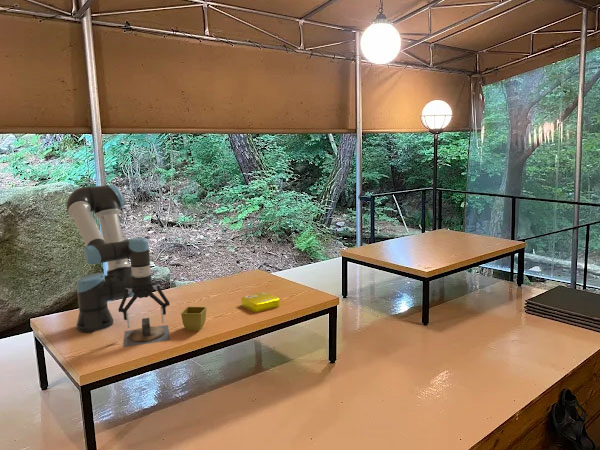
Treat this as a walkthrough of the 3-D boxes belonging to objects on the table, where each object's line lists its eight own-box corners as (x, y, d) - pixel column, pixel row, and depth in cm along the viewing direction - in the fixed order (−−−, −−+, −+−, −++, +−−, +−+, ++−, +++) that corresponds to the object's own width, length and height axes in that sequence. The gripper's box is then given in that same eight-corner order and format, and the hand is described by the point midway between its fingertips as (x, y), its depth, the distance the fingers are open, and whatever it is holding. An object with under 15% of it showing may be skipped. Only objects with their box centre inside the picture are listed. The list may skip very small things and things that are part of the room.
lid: (128, 344, 191) (127, 329, 190) (129, 331, 204) (128, 318, 203) (164, 339, 195) (163, 324, 194) (163, 327, 208) (162, 313, 207)
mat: (123, 348, 188) (123, 347, 188) (125, 332, 205) (125, 331, 205) (170, 341, 194) (170, 340, 194) (168, 326, 211) (168, 325, 211)
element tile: (254, 313, 224) (254, 304, 224) (239, 305, 236) (239, 296, 236) (281, 306, 233) (281, 297, 232) (265, 299, 245) (265, 290, 244)
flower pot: (208, 326, 210) (206, 306, 208) (202, 333, 201) (200, 313, 199) (188, 326, 210) (187, 306, 209) (182, 333, 202) (180, 313, 200)
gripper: (108, 281, 188) (113, 332, 191) (173, 274, 196) (177, 323, 199) (109, 276, 195) (114, 325, 198) (172, 269, 203) (176, 317, 206)
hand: (146, 324), depth 199 cm, fingers open, 13 cm apart
